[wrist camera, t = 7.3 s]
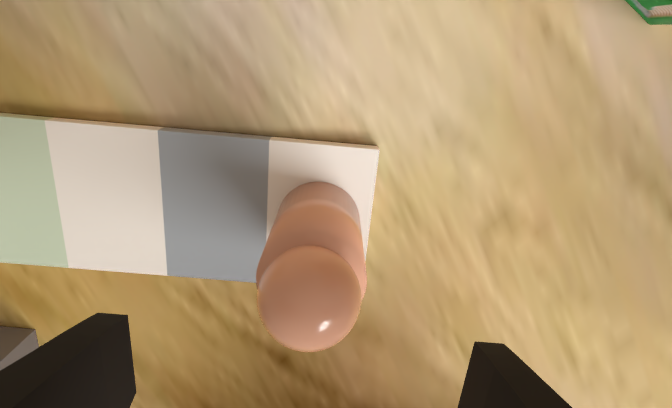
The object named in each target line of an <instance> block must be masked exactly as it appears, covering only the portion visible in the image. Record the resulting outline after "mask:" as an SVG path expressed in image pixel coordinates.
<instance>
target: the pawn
mask: <svg viewBox="0 0 672 408" xmlns="http://www.w3.org/2000/svg"><path fill="white" fill-rule="evenodd" d="M256 284H257V289H258V292H257V307H258V312H259V316H260V319H261V321H262V323H263V325H264V327H265V329H266V330H267V331H268V333H269V334H270V335H271V336H272V337H273V338H274V339H275V340H276V341H277V342H279V343H280V344H282V345H283V346H285V347H287V348H290V349H293V350H296V351H302V352H316V351H321V350H324V349H327V348H330V347H332V346H333V345H335V344H337V343H338V342H340V341H341V340H342V339H343V338H344V337H345V336H346V335H347V334H348V333H349V332H350V331H351V329H352V328H353V326H354V324H355V322H356V321H357V318H358V315H359V312H360V307H361V301H362V299H363V297H364V294H365V291H366V286H367V275H366V266H365V257H364V249H363V240H362V232H361V224H360V215H359V211H358V208H357V205H356V203H355V202H354V200H353V199H352V197H351V196H350V195H349V194H348V193H347V192H346V191H345V190H343V189H342V188H340V187H338V186H336V185H334V184H331V183H327V182H309V183H305V184H302V185H300V186H298V187H296V188H294V189H293V190H291V191H290V192H289V193H288V194H287V195H286V196H285V198H284V199H283V201H282V202H281V204H280V207H279V209H278V212H277V215H276V217H275V220H274V223H273V226H272V228H271V231H270V234H269V236H268V239H267V242H266V245H265V247H264V250H263V253H262V255H261V258H260V261H259V263H258V267H257V271H256Z"/></svg>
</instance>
